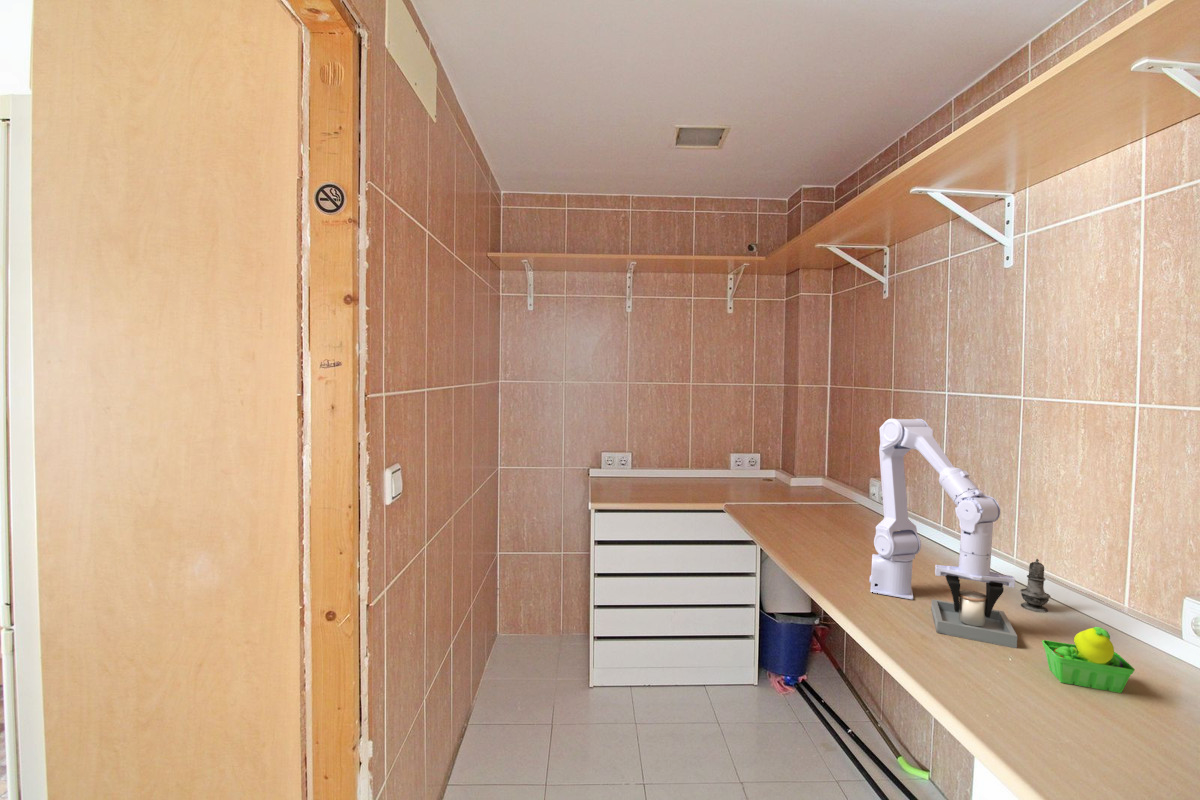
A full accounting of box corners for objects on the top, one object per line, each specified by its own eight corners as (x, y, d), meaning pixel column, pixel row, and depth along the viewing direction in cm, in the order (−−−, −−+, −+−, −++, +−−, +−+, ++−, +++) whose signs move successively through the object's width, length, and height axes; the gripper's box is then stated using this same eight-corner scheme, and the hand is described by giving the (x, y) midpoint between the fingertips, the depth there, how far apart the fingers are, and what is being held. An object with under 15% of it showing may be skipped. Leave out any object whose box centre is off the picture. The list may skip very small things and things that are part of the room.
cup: (958, 623, 125) (958, 596, 124) (957, 614, 129) (958, 588, 129) (987, 628, 122) (987, 600, 122) (985, 619, 127) (985, 592, 126)
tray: (936, 632, 122) (937, 621, 122) (931, 609, 135) (931, 598, 135) (1016, 648, 116) (1017, 636, 116) (1003, 622, 129) (1003, 611, 129)
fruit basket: (1112, 677, 106) (1116, 617, 105) (1139, 702, 97) (1144, 637, 97) (1038, 665, 110) (1042, 607, 109) (1058, 688, 101) (1062, 626, 101)
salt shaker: (1055, 614, 134) (1058, 563, 134) (1026, 611, 135) (1030, 561, 135) (1041, 604, 140) (1044, 556, 139) (1014, 601, 141) (1017, 553, 141)
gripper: (938, 551, 124) (935, 612, 125) (1020, 562, 118) (1015, 627, 119) (935, 542, 131) (932, 601, 131) (1012, 553, 124) (1008, 614, 125)
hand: (971, 613), depth 125 cm, fingers closed on cup, 5 cm apart
